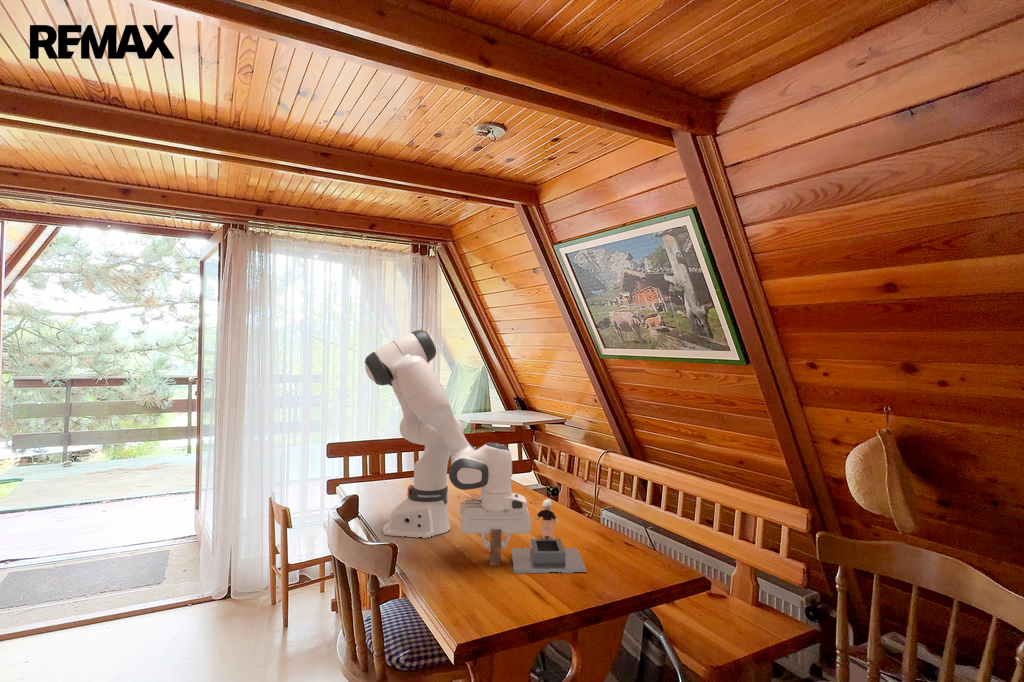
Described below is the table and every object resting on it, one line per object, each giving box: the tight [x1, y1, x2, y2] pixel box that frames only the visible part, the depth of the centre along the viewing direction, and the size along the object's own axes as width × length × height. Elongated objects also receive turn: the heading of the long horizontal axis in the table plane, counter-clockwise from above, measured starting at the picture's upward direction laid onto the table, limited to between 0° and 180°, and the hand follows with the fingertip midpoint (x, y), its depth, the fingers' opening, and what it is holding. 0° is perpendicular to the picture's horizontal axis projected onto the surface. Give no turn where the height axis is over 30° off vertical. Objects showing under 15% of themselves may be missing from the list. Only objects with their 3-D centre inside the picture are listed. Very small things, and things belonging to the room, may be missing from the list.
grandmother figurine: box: [535, 498, 558, 539], centre depth 174 cm, size 8×4×13 cm, turn 71°
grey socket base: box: [511, 538, 587, 574], centre depth 155 cm, size 20×15×5 cm
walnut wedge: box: [489, 530, 502, 567], centre depth 154 cm, size 3×5×10 cm, turn 3°
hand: (495, 547), depth 154 cm, fingers open, 3 cm apart
